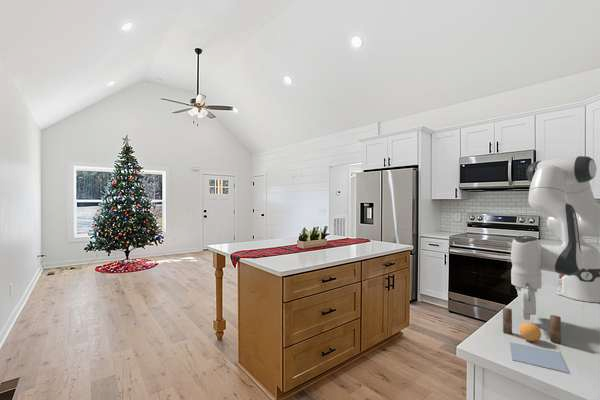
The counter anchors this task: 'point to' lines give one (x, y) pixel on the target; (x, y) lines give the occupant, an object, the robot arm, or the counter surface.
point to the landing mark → (538, 357)
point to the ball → (530, 332)
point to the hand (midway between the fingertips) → (526, 318)
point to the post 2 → (555, 329)
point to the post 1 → (507, 321)
